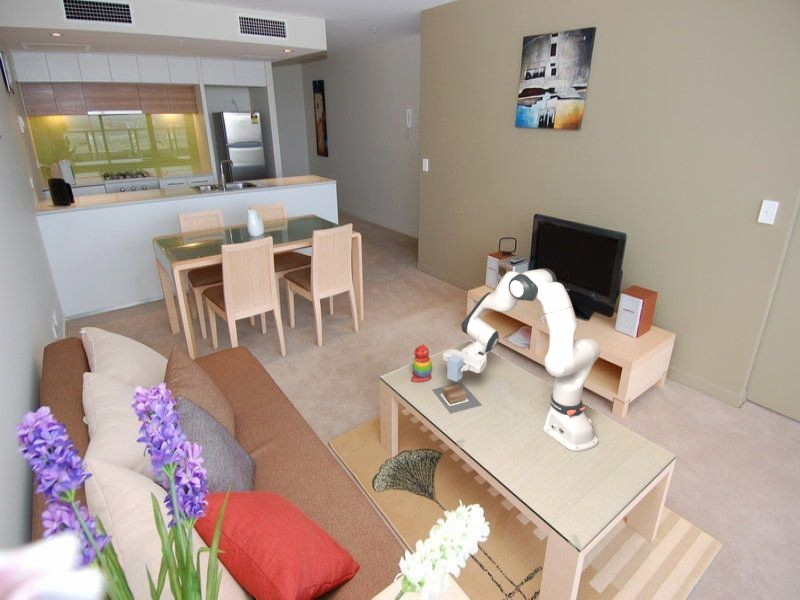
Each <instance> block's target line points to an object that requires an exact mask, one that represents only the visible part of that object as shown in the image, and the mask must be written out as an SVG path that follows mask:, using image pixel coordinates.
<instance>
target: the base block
mask: <svg viewBox="0 0 800 600" xmlns="http://www.w3.org/2000/svg"><path fill="white" fill-rule="evenodd" d="M455 384H456V383H455ZM451 385H452V384H451ZM447 386H448V385H447ZM443 387H444V386H443ZM443 396H444V397H445V398H446V400H447V401H448V402H449V403H450V404H454V403H458V402H462V401H466V392H465V391H464V390H463V389H462V388H461V386H460V385H459V384H456V385H452V386H448V387H444V388H443Z"/></svg>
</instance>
